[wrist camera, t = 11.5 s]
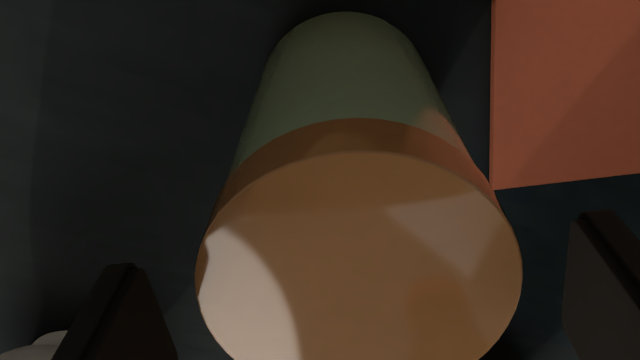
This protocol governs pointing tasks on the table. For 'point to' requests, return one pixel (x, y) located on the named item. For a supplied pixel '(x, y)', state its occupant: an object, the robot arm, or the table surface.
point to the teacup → (37, 348)
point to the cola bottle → (501, 352)
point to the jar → (355, 212)
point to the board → (564, 91)
